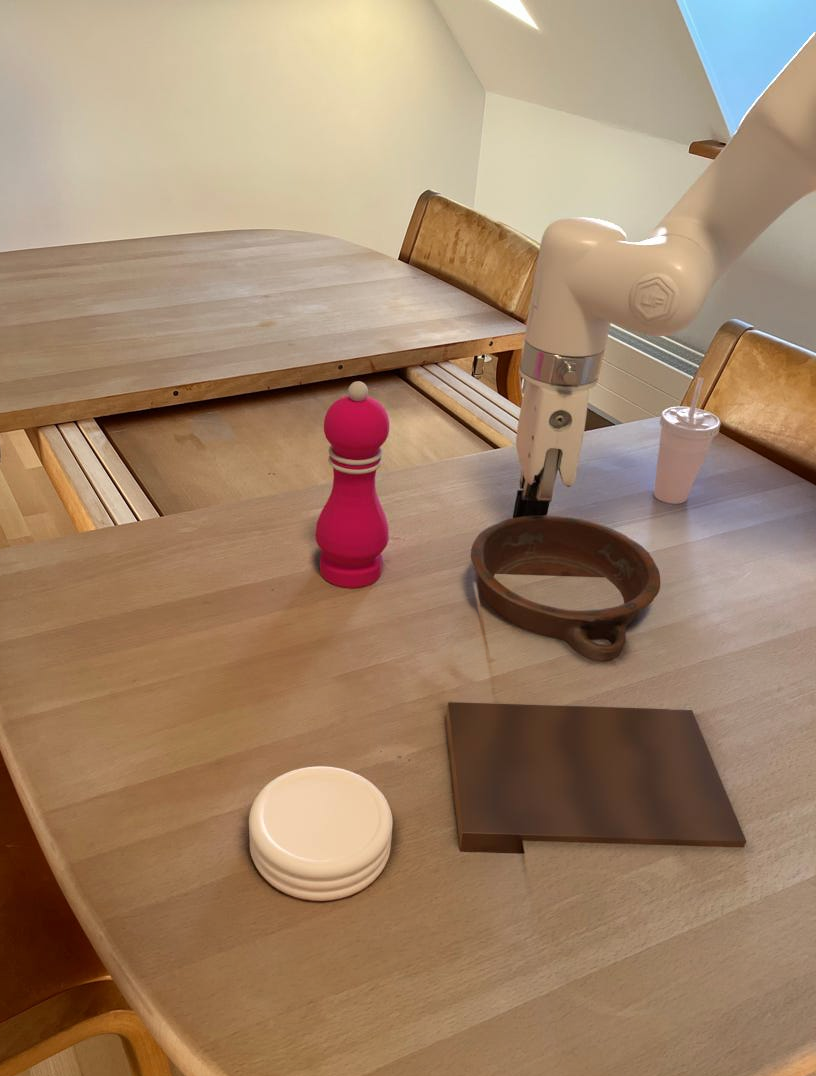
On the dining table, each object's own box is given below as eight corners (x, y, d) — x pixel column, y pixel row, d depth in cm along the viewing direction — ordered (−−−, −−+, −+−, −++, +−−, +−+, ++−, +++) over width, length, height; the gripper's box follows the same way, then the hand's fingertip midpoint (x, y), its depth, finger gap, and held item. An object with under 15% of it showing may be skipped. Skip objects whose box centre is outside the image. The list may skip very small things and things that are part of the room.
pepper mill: (390, 556, 100) (403, 370, 88) (381, 595, 94) (393, 402, 82) (322, 548, 101) (325, 363, 89) (308, 586, 95) (310, 394, 83)
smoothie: (697, 486, 114) (729, 372, 106) (700, 513, 109) (735, 395, 101) (641, 479, 115) (669, 366, 107) (642, 505, 110) (671, 388, 102)
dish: (581, 534, 105) (590, 493, 102) (698, 656, 88) (713, 612, 85) (431, 556, 100) (435, 514, 97) (524, 689, 84) (533, 643, 81)
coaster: (327, 776, 75) (328, 743, 73) (418, 854, 69) (422, 820, 67) (222, 840, 69) (219, 806, 67) (311, 930, 64) (311, 896, 61)
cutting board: (686, 727, 80) (692, 709, 79) (738, 860, 69) (747, 841, 68) (445, 720, 80) (447, 701, 79) (459, 851, 69) (462, 832, 68)
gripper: (615, 396, 86) (574, 568, 97) (586, 334, 97) (552, 494, 109) (531, 391, 86) (499, 564, 97) (512, 330, 97) (485, 490, 109)
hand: (527, 527), depth 103 cm, fingers closed
